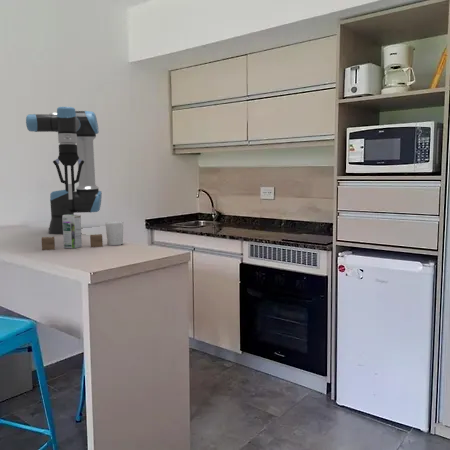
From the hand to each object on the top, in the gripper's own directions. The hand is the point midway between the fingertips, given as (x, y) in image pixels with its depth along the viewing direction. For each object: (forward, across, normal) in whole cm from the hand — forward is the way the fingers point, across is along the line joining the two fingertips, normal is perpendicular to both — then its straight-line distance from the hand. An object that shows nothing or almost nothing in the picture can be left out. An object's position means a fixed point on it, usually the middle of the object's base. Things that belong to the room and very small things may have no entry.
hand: (70, 199), depth 196 cm
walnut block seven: (+21, -10, 0) cm, 24 cm away
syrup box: (+21, 0, 0) cm, 21 cm away
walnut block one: (+21, +10, 0) cm, 24 cm away
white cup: (+22, +18, +2) cm, 28 cm away
